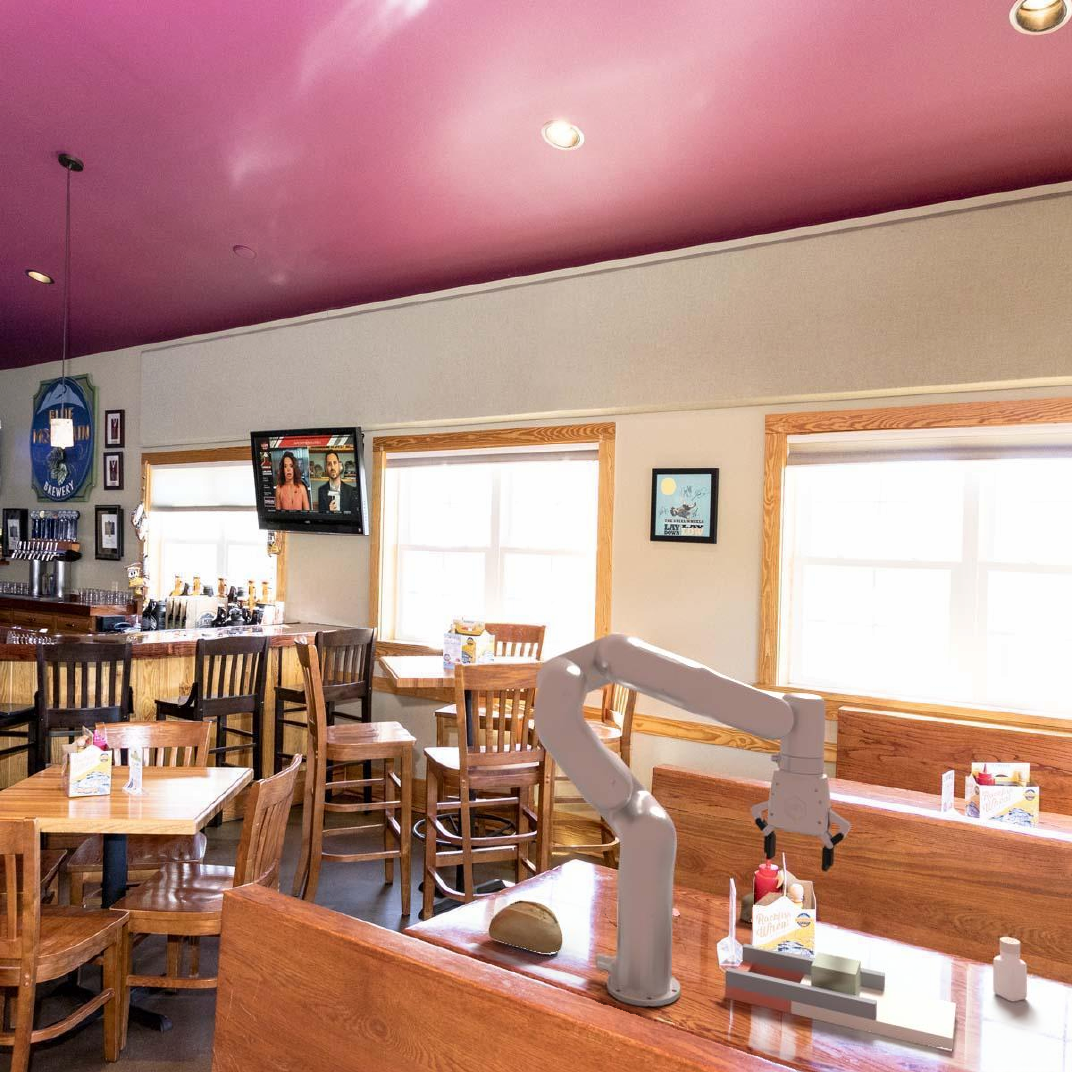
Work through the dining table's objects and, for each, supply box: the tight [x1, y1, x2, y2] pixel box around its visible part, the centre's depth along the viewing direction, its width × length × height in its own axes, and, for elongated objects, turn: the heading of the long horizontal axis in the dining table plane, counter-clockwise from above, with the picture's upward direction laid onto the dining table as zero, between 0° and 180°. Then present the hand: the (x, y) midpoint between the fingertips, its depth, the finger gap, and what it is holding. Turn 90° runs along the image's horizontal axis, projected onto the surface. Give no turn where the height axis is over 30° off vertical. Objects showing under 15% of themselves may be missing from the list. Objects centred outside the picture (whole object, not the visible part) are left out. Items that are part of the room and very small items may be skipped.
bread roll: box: [488, 900, 563, 953], centre depth 172 cm, size 10×15×8 cm, turn 67°
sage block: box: [811, 952, 862, 996], centre depth 151 cm, size 7×6×5 cm
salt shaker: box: [992, 936, 1028, 1002], centre depth 156 cm, size 4×4×10 cm
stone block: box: [739, 892, 755, 923], centre depth 187 cm, size 6×12×5 cm, turn 60°
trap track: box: [724, 943, 957, 1050], centre depth 150 cm, size 35×13×4 cm, turn 63°
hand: (797, 863), depth 157 cm, fingers open, 9 cm apart
